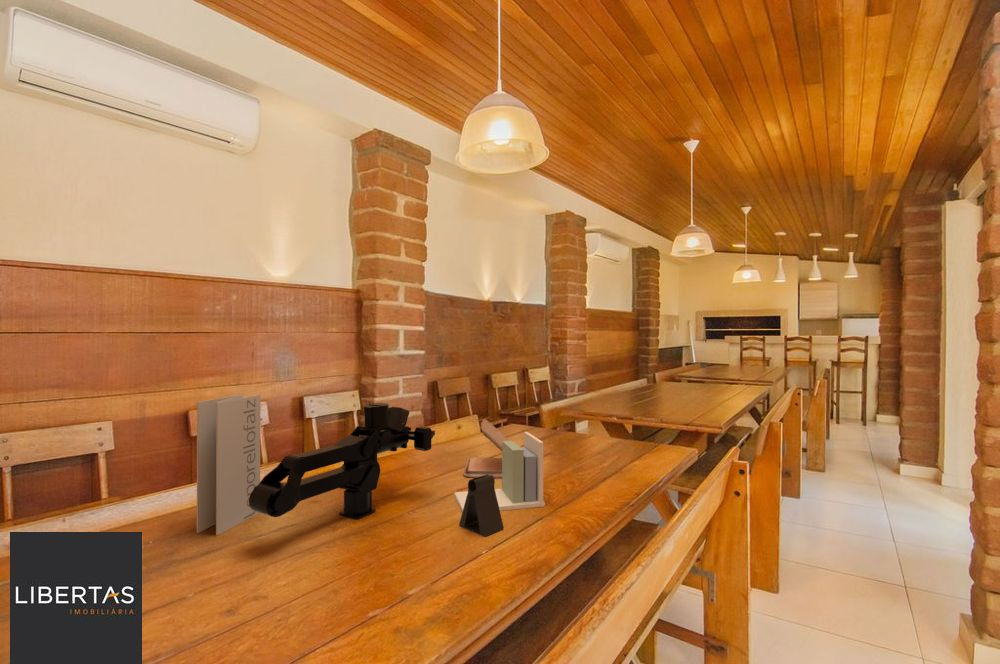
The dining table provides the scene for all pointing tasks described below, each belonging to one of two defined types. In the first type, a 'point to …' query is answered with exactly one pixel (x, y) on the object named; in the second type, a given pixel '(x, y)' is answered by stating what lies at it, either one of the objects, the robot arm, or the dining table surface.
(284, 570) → the dining table surface
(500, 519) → the phone stand
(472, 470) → the case
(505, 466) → the bookshelf
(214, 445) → the brochure
